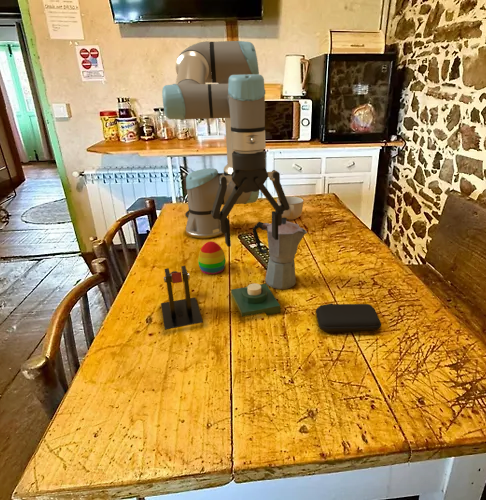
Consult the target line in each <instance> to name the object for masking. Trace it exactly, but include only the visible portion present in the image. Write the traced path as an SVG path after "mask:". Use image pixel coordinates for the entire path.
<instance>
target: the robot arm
mask: <svg viewBox="0 0 486 500" xmlns="http://www.w3.org/2000/svg"><path fill="white" fill-rule="evenodd" d="M175 72H176V80H175V83H172V84H165V85H164V86H163V87H162V89H161V96H162V97H161V98H162V106H163V112H164V115H165V117H166V118H167V119H169V120H180V121H185V120H205V119H224V125H225V143H226V161H227V164H226V165H225V166H224V167H223V172H219V171H218V169H217V168H214V167H213V168H201V169H198V170H195V171H192V172H190V173H188V174H187V175H186V177H185V190H186V195H187V198H185V196H183V195H179V196H178V200H179V199H183V200H184V201H185V202H186V203H187V204H188V206H187V207H188V210H187V211H186V213H184V214H185V215H184V216H185V217H186V218H187V220H186V225H185V226H186V227H185V234H186V235H187V236H188V237H191V238H193V239H202V240H203V239H205V240H206V239H212V238H217V237H220V236H222V235H224V242H225V245H226V246H227V247H228V248H229V247H232V244H231V243H232V241H231V227H230V224H231V223H230V219H229V218H228V216H230V215H229V214H230V213H231V212H232V209H233V208H234V206H235V205H247V204H253V203H256V202H257V201H258V199H259V195H260V192H261V194H262V195H263V196H264V198H265V199H266V200H267V201H268V203H269V204H270V205H271V207H272V208H273V210H271V223H272V237H273V238H274V239H275V240H278V226H280V225H281V224H282V214H283V213H284V211H285V210H289V208H290V207H289V204H288V202H287V199H286V197H285V196H286V194H285V191H284V189H283V186H282V184H281V174H280V172H279V171H277V170H276V169H272V170H271V171H267V152H266V151H265V149H266V100H265V98H266V88H265V79H264V76H263V75H262V74H260V70H259V63H258V56H257V53H256V48H255V45H254V44H253V43H252V42H251V41H244V40H223V41H222V40H221V41H219V40H218V41H210V40H209V41H207V40H206V41H205V40H204V41H200V42H197V43H194V44H192V45H189V46H188V47H186V48H185V49H184V50H182V51H181V52H180V54H179V55H178V56H177V59H176V62H175ZM267 179H269V180H270V181H271V182H272V185H273V188H274V190H275V193H276V195H277V198H279V201H280V203H281V205H280V206H279V205H278V204H277V200H276V199H275V198H274V197H273V195H272V194H271V192H270V191H269V190H268V188H267V187H266V186H265V183H266V181H267ZM222 206H223V207H222Z"/></svg>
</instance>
